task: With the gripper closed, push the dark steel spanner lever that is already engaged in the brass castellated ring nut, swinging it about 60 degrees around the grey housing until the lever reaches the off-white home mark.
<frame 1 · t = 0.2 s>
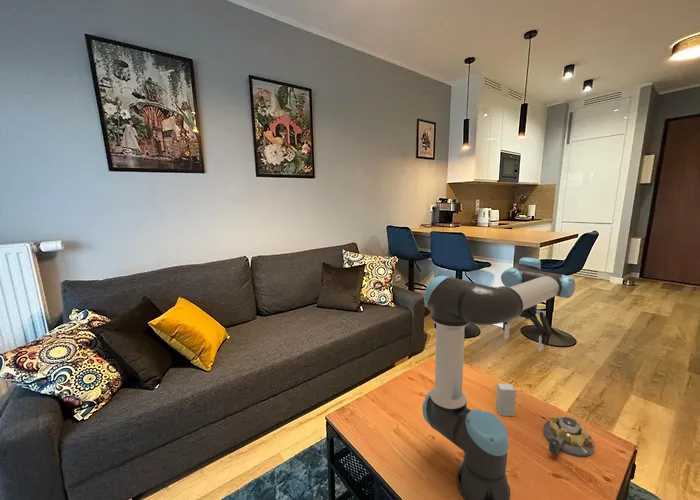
hand: (522, 344, 126), 27 cm above the table, fingers open, 13 cm apart
skincare box: (504, 412, 125), on the table
ring nut: (563, 434, 108), point 4 cm above the table, hinge at 0.0°
housing: (567, 439, 111), on the table
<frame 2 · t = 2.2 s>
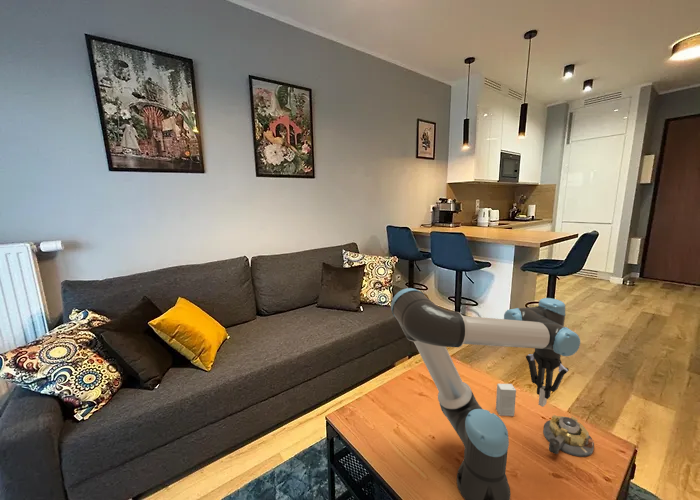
hand: (542, 404, 108), 15 cm above the table, fingers closed
nothing on the table moved.
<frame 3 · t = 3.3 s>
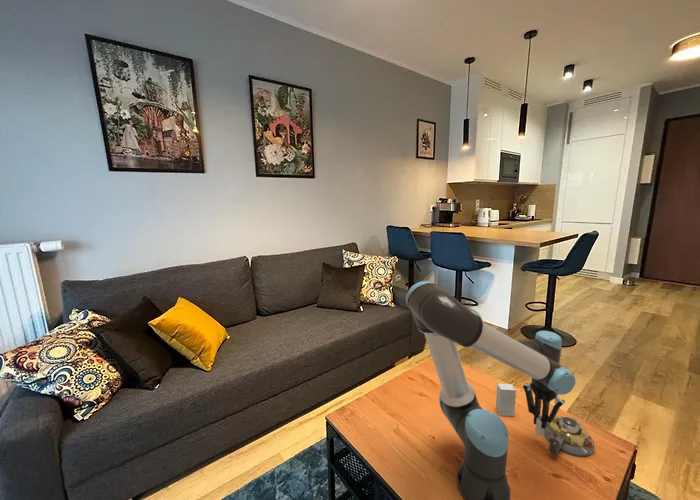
hand: (539, 433, 110), 3 cm above the table, fingers closed
nothing on the table moved.
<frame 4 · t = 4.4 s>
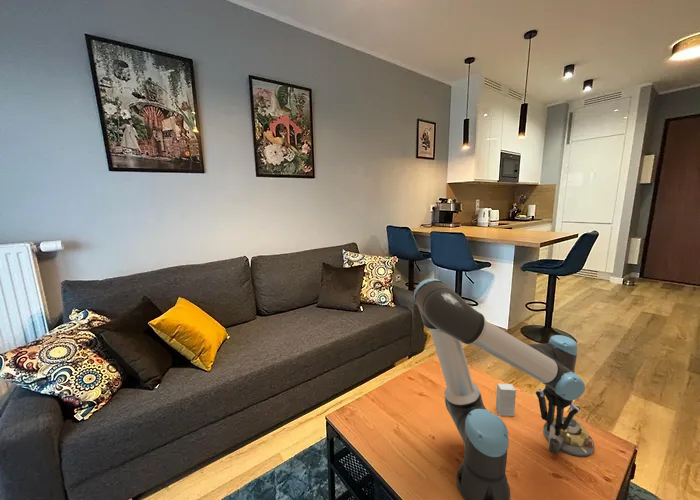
hand: (552, 440, 106), 3 cm above the table, fingers closed
ring nut: (563, 434, 108), point 4 cm above the table, hinge at 0.0°, touching gripper
everything else where it was.
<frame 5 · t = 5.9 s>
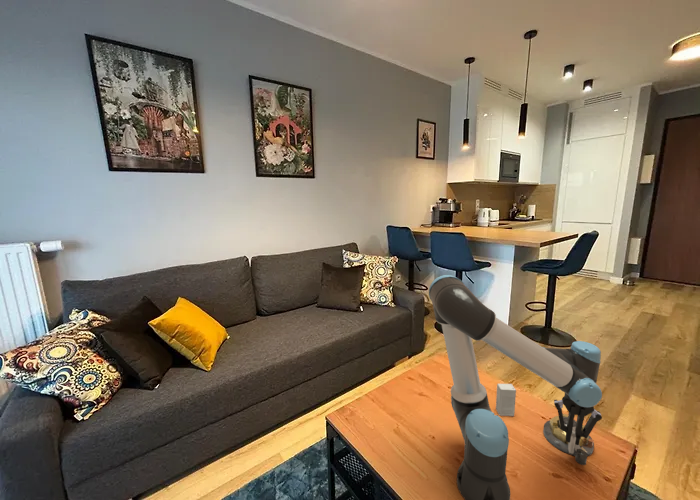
hand: (570, 450, 103), 3 cm above the table, fingers closed
ring nut: (572, 437, 106), point 4 cm above the table, hinge at 34.6°, touching gripper
everything else where it was.
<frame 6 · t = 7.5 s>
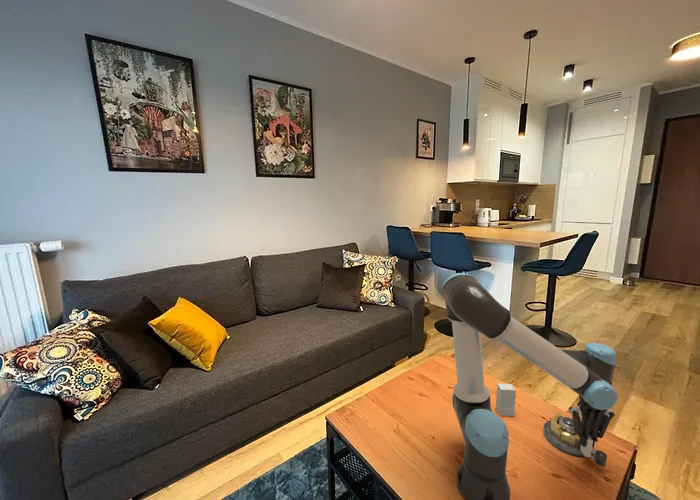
hand: (585, 453, 101), 3 cm above the table, fingers closed
ring nut: (578, 438, 106), point 4 cm above the table, hinge at 61.8°
everything else where it was.
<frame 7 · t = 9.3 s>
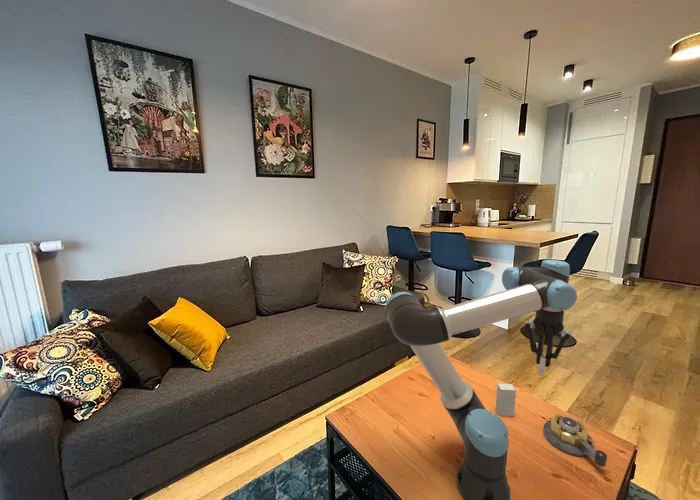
hand: (541, 373, 102), 30 cm above the table, fingers closed
nothing on the table moved.
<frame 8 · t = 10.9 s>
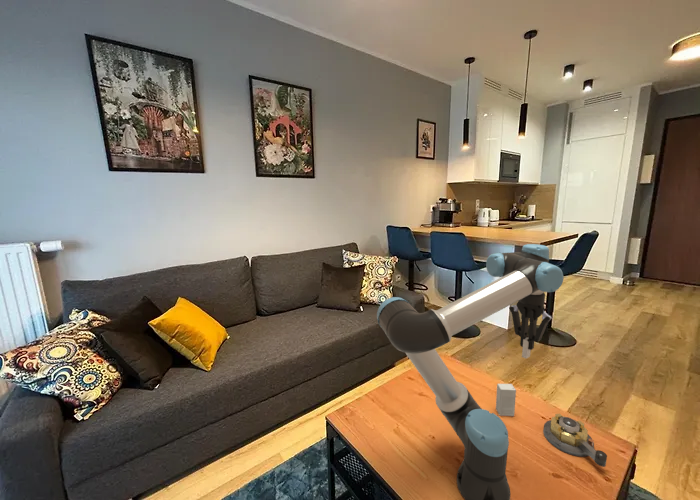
hand: (525, 356, 104), 34 cm above the table, fingers closed
nothing on the table moved.
at the end: ring nut at +62° (first picture: +0°) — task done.
